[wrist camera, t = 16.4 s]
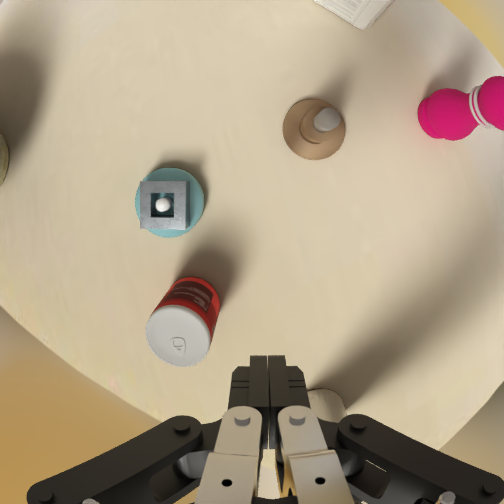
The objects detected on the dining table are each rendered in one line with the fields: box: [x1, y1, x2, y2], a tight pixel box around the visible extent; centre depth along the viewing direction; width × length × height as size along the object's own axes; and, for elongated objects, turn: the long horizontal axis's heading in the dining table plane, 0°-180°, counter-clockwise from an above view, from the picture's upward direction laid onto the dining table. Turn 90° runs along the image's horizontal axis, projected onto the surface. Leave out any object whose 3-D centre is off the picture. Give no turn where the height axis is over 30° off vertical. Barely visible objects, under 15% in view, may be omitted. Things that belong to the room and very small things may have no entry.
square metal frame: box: [140, 180, 190, 230], centre depth 39 cm, size 6×6×2 cm
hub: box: [135, 168, 205, 238], centre depth 40 cm, size 9×9×4 cm
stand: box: [283, 99, 345, 160], centre depth 34 cm, size 8×8×10 cm
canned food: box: [146, 277, 220, 367], centre depth 40 cm, size 8×8×11 cm
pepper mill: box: [418, 76, 504, 141], centre depth 28 cm, size 7×7×20 cm
